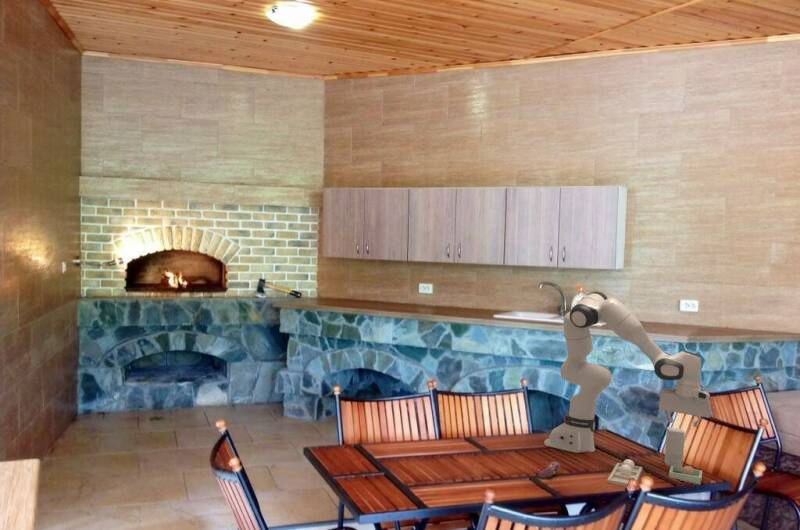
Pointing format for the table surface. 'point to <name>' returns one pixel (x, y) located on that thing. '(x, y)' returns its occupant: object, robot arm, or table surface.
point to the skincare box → (674, 447)
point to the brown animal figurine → (550, 470)
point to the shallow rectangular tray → (621, 479)
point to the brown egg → (688, 470)
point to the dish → (686, 478)
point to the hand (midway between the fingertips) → (682, 424)
